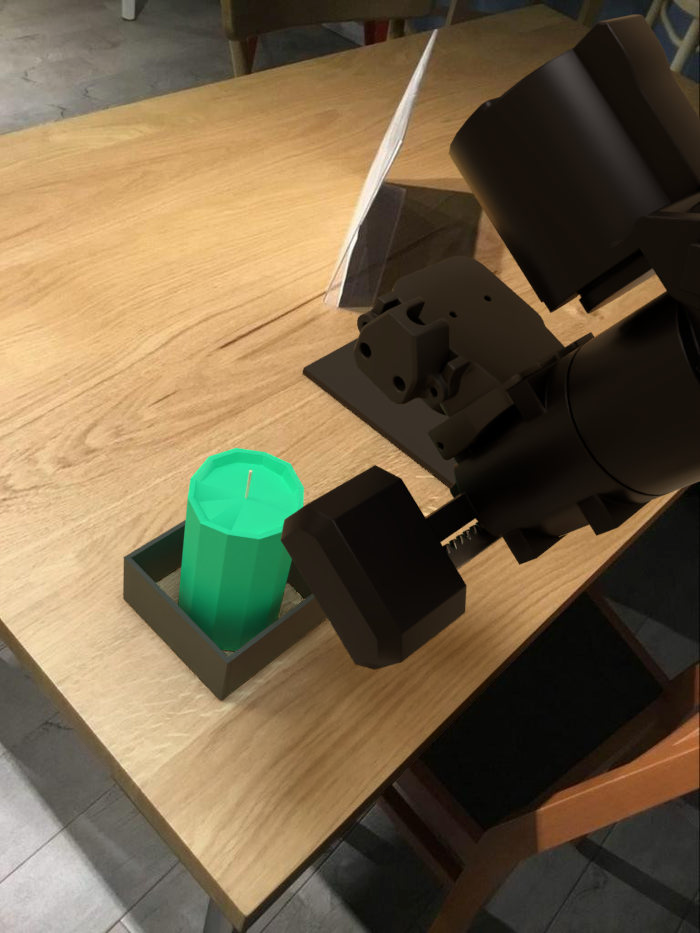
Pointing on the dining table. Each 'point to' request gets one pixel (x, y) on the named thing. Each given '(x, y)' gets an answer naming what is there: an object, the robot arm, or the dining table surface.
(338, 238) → the dining table surface
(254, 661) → the dark grey square tray
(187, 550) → the candle
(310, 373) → the mat
